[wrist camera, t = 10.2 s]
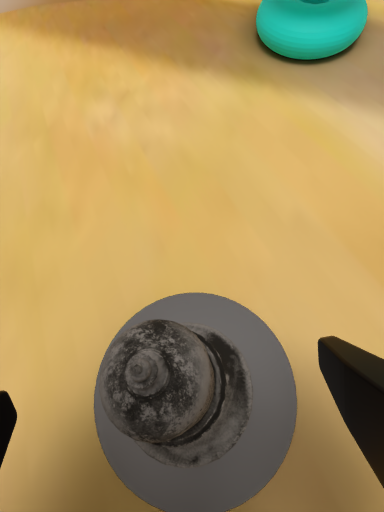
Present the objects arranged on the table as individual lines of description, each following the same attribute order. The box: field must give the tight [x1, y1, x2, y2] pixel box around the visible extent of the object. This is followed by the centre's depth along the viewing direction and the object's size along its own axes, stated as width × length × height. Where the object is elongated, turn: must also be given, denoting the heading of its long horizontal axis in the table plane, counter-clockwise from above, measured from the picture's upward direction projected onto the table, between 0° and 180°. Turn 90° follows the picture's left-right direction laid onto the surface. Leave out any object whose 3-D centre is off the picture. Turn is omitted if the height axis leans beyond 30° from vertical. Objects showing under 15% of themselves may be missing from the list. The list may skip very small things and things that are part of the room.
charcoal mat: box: [94, 293, 297, 512], centre depth 17 cm, size 11×11×1 cm
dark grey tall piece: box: [99, 319, 253, 469], centre depth 11 cm, size 6×6×12 cm
